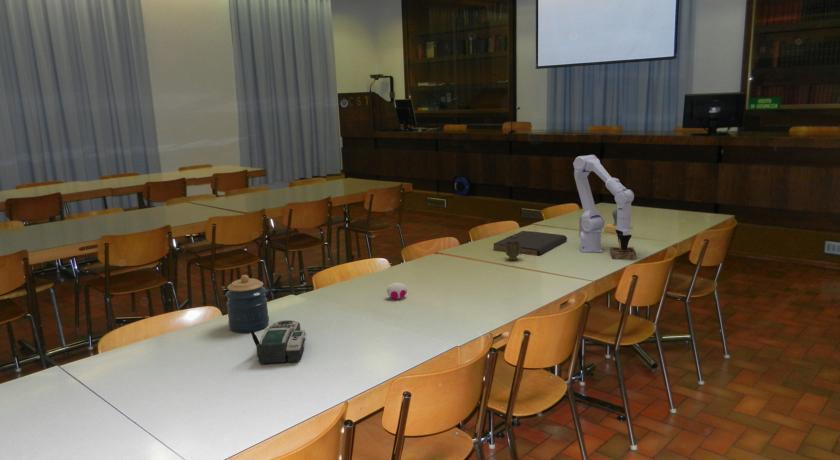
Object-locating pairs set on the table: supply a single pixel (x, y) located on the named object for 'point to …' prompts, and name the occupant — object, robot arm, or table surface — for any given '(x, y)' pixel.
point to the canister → (247, 305)
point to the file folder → (532, 242)
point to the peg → (620, 247)
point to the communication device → (280, 342)
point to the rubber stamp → (612, 227)
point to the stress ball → (397, 290)
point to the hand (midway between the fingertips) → (622, 247)
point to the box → (622, 253)
